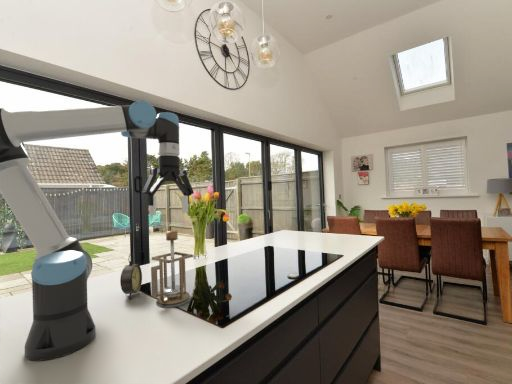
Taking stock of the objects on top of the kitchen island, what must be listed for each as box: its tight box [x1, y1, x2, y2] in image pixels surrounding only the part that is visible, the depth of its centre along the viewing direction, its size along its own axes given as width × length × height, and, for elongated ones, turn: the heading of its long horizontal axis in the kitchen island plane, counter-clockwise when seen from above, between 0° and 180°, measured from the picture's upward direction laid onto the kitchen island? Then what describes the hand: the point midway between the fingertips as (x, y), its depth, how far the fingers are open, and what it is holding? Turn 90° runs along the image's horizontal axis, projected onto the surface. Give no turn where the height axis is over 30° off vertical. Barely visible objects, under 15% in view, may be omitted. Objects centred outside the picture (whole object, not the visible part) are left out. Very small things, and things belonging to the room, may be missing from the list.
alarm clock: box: [119, 253, 143, 300], centre depth 103 cm, size 11×5×16 cm, turn 5°
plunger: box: [163, 230, 184, 295], centre depth 97 cm, size 8×8×22 cm
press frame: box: [150, 251, 194, 309], centre depth 96 cm, size 14×12×16 cm
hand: (170, 213), depth 97 cm, fingers open, 13 cm apart
